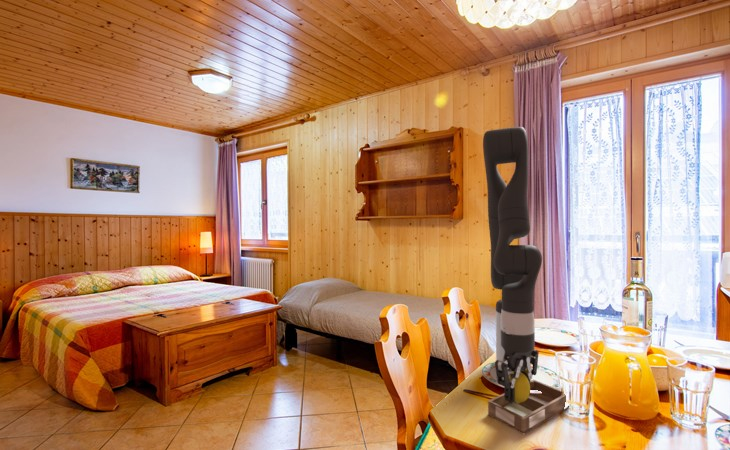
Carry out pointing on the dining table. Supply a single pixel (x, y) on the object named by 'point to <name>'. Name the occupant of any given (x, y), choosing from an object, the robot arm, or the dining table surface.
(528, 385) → the lemon
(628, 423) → the dining table surface
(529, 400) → the tray
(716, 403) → the dining table surface
